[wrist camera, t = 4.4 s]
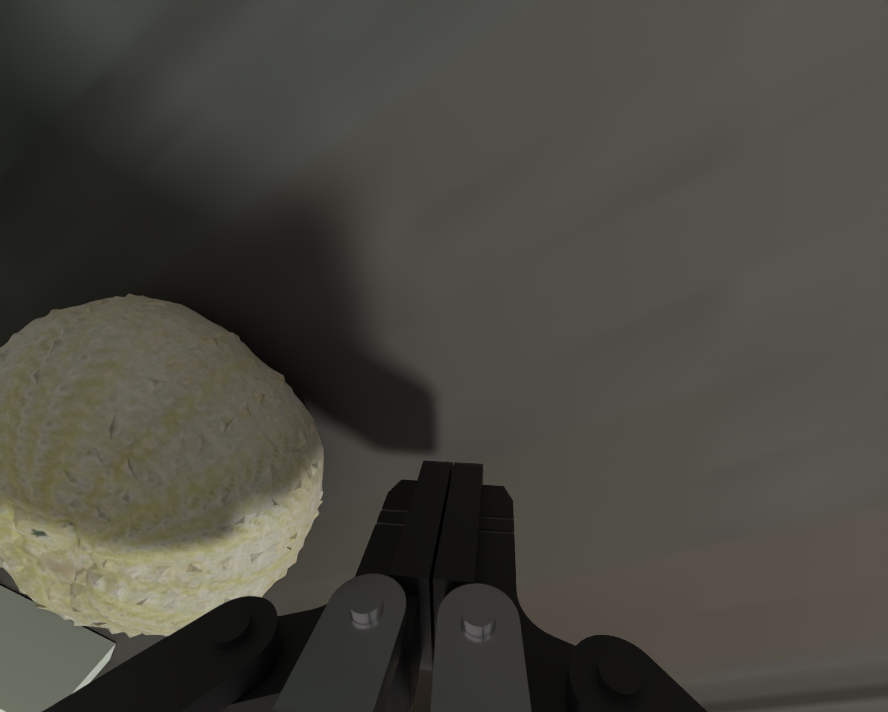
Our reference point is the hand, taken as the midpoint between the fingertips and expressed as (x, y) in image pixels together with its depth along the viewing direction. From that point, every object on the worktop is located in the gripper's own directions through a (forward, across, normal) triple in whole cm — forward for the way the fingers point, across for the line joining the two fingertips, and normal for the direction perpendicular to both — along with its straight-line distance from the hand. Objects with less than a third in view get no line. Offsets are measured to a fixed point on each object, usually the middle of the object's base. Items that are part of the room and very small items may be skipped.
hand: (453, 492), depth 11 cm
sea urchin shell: (+2, +8, 0) cm, 8 cm away
